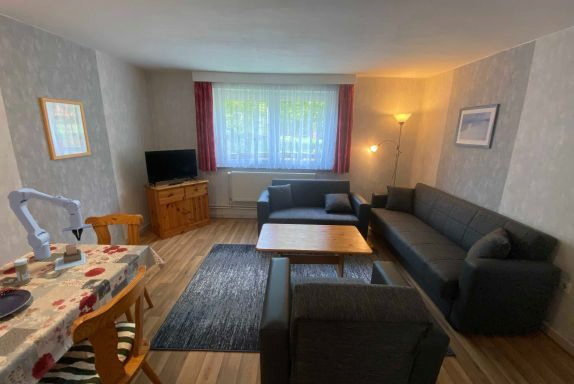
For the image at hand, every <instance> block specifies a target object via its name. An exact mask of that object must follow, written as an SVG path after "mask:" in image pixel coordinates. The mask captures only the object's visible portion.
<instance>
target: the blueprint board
mask: <svg viewBox="0 0 574 384" xmlns="http://www.w3.org/2000/svg"><path fill="white" fill-rule="evenodd" d="M81 257H82V260H78V261H73V262H69V263H64V259H63V256H62V257H58V258H55V263H54V271H59V270H64V269H69V268H72V267H76V266H82V265H84V264H85V265H86V264H87V258H86V257H87V256H86V252H81Z"/></svg>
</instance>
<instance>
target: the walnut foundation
mask: <svg viewBox="0 0 574 384" xmlns="http://www.w3.org/2000/svg"><path fill="white" fill-rule="evenodd" d="M81 253H82V250H81V249H80V248H77V253H76V254H71V255H67V253H66V251H63V254H62V257H63V259H64V263H69V262H73V261H78V260H82V257H81Z"/></svg>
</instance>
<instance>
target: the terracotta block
mask: <svg viewBox="0 0 574 384" xmlns="http://www.w3.org/2000/svg"><path fill="white" fill-rule="evenodd" d="M77 249H78V248H77V244H76V243H73V244H69V245H66V246H65V250H66V251H65V252H66V253H67V255H71V254H76V253H77Z"/></svg>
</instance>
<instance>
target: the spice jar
mask: <svg viewBox="0 0 574 384" xmlns="http://www.w3.org/2000/svg"><path fill="white" fill-rule="evenodd" d="M27 259H28V258H19V259H15V260H14V261H13V266H14V269H15V274H16V279H17V282H18V287H26V286H28V285H30V283H31V275H30V271H29V268H28V267H29V266H28V260H27Z"/></svg>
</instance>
